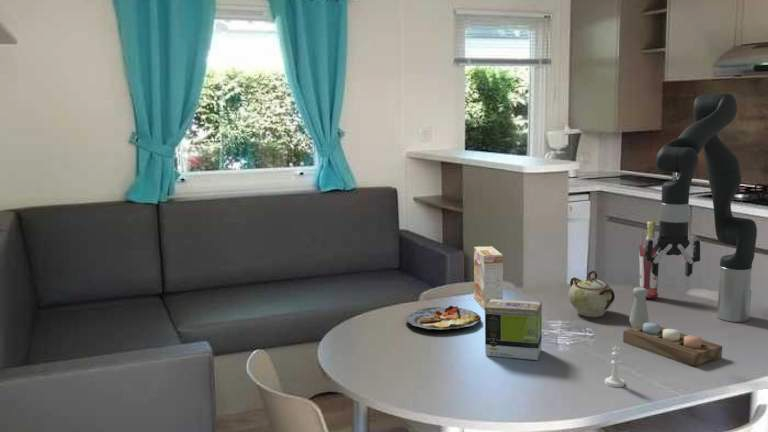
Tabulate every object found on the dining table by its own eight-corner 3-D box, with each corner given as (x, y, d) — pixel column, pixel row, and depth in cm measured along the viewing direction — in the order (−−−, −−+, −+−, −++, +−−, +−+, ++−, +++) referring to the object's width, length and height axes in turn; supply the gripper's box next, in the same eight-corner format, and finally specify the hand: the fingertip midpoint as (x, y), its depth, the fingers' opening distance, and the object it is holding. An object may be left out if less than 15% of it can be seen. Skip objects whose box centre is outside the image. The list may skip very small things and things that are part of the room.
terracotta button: (690, 344, 199) (690, 334, 198) (704, 349, 195) (705, 338, 194) (679, 347, 196) (680, 337, 196) (694, 352, 192) (694, 342, 192)
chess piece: (601, 380, 182) (602, 343, 180) (619, 379, 182) (621, 342, 180) (609, 387, 177) (610, 349, 175) (628, 386, 177) (629, 348, 175)
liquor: (656, 301, 249) (659, 224, 244) (635, 298, 253) (638, 222, 248) (660, 296, 255) (664, 220, 251) (640, 293, 259) (643, 219, 254)
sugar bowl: (629, 317, 232) (631, 273, 230) (596, 325, 225) (597, 279, 223) (586, 303, 249) (587, 262, 247) (554, 309, 242) (554, 267, 240)
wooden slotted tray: (650, 334, 215) (650, 323, 215) (721, 358, 195) (722, 346, 194) (623, 341, 209) (623, 330, 209) (693, 367, 189) (694, 354, 188)
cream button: (669, 337, 205) (669, 327, 204) (683, 342, 201) (683, 332, 200) (658, 340, 202) (659, 330, 202) (672, 345, 198) (672, 335, 198)
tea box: (541, 349, 205) (542, 300, 202) (537, 361, 195) (538, 310, 193) (490, 344, 209) (490, 296, 207) (484, 356, 200) (484, 306, 198)
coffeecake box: (473, 298, 258) (473, 246, 255) (492, 297, 259) (492, 245, 256) (483, 310, 244) (483, 255, 241) (503, 309, 244) (503, 254, 241)
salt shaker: (649, 331, 218) (651, 291, 216) (630, 330, 219) (632, 290, 217) (646, 325, 224) (648, 286, 221) (627, 324, 225) (629, 285, 223)
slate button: (649, 331, 211) (650, 321, 210) (662, 335, 207) (662, 325, 206) (639, 334, 208) (639, 324, 208) (652, 338, 204) (652, 328, 204)
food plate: (462, 309, 246) (462, 299, 245) (493, 329, 224) (493, 318, 223) (395, 317, 238) (395, 307, 237) (420, 339, 216) (420, 328, 216)
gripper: (697, 216, 197) (694, 273, 200) (644, 216, 199) (642, 272, 202) (705, 221, 190) (702, 279, 192) (650, 221, 192) (648, 278, 194)
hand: (671, 275), depth 197 cm, fingers open, 8 cm apart
